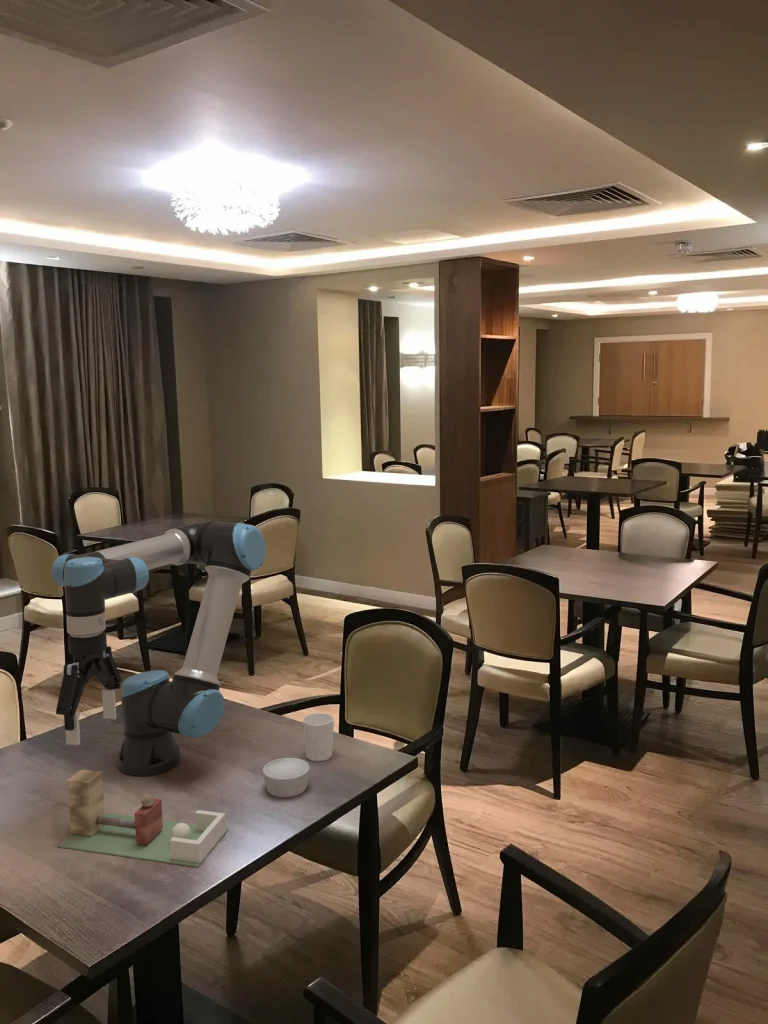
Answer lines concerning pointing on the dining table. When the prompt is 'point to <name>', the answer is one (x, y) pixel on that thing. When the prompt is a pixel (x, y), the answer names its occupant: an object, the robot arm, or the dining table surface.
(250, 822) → the dining table surface
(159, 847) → the pitch
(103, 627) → the robot arm
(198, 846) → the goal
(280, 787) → the ramekin
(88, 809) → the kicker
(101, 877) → the dining table surface
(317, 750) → the white cup
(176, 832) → the ball
